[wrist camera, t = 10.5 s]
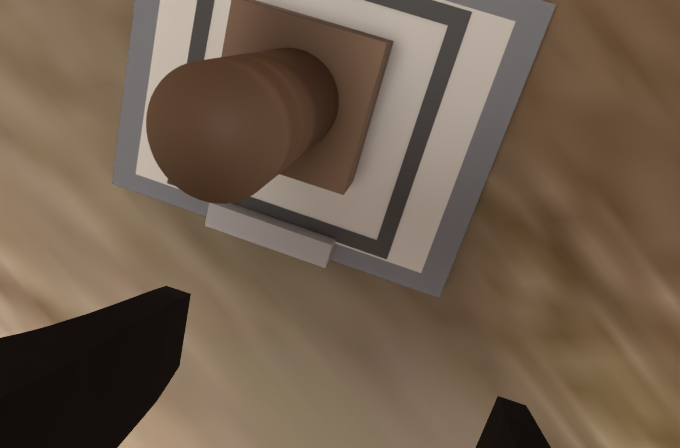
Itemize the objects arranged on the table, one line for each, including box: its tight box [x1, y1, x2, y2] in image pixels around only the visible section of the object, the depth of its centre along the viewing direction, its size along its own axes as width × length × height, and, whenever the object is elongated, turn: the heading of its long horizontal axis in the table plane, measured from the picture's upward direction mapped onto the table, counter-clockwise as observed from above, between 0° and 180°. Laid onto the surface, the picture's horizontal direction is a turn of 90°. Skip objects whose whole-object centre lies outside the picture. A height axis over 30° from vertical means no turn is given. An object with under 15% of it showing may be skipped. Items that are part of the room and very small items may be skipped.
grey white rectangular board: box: [112, 0, 556, 298], centre depth 21 cm, size 14×11×2 cm
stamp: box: [146, 0, 394, 204], centre depth 16 cm, size 5×5×8 cm
